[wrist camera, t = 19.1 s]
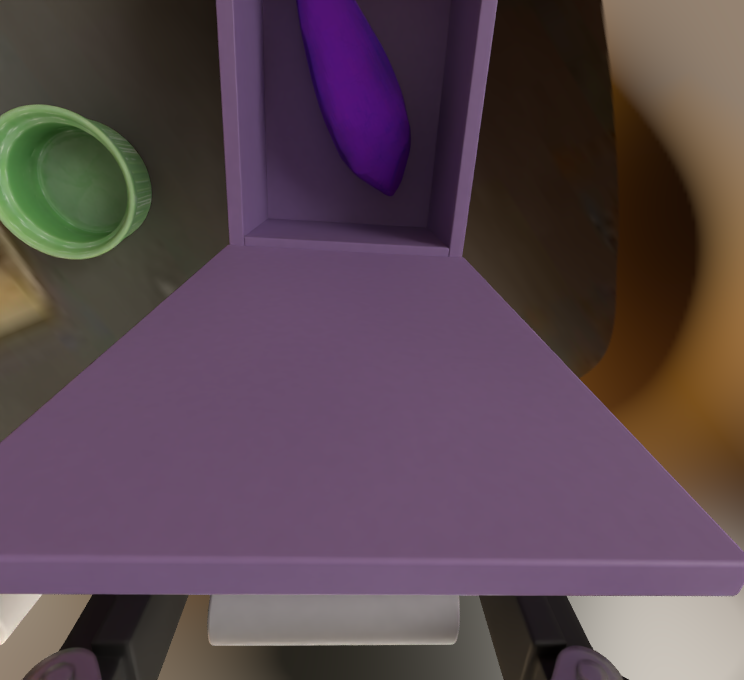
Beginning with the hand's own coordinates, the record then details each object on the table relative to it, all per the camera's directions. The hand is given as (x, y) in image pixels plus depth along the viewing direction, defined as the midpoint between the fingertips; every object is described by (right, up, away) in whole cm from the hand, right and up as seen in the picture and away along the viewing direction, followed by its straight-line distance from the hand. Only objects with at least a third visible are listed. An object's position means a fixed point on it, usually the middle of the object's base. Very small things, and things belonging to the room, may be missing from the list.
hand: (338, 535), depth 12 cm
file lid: (0, +6, +3) cm, 7 cm away
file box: (0, +22, +17) cm, 28 cm away
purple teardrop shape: (-1, +22, +17) cm, 28 cm away
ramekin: (-19, +16, +19) cm, 31 cm away
